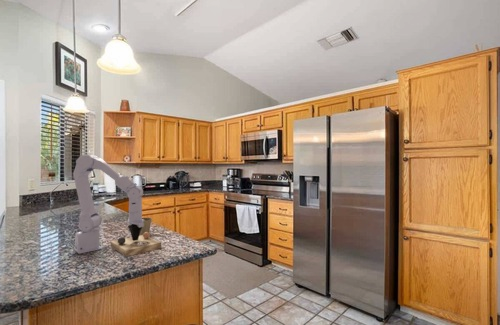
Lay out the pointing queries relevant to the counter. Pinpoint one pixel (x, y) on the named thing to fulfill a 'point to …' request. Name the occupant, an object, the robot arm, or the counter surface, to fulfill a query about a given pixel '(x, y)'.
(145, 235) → the terracotta ball
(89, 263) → the counter surface
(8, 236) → the counter surface
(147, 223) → the flower pot
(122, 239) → the black rubber ball
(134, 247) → the board
